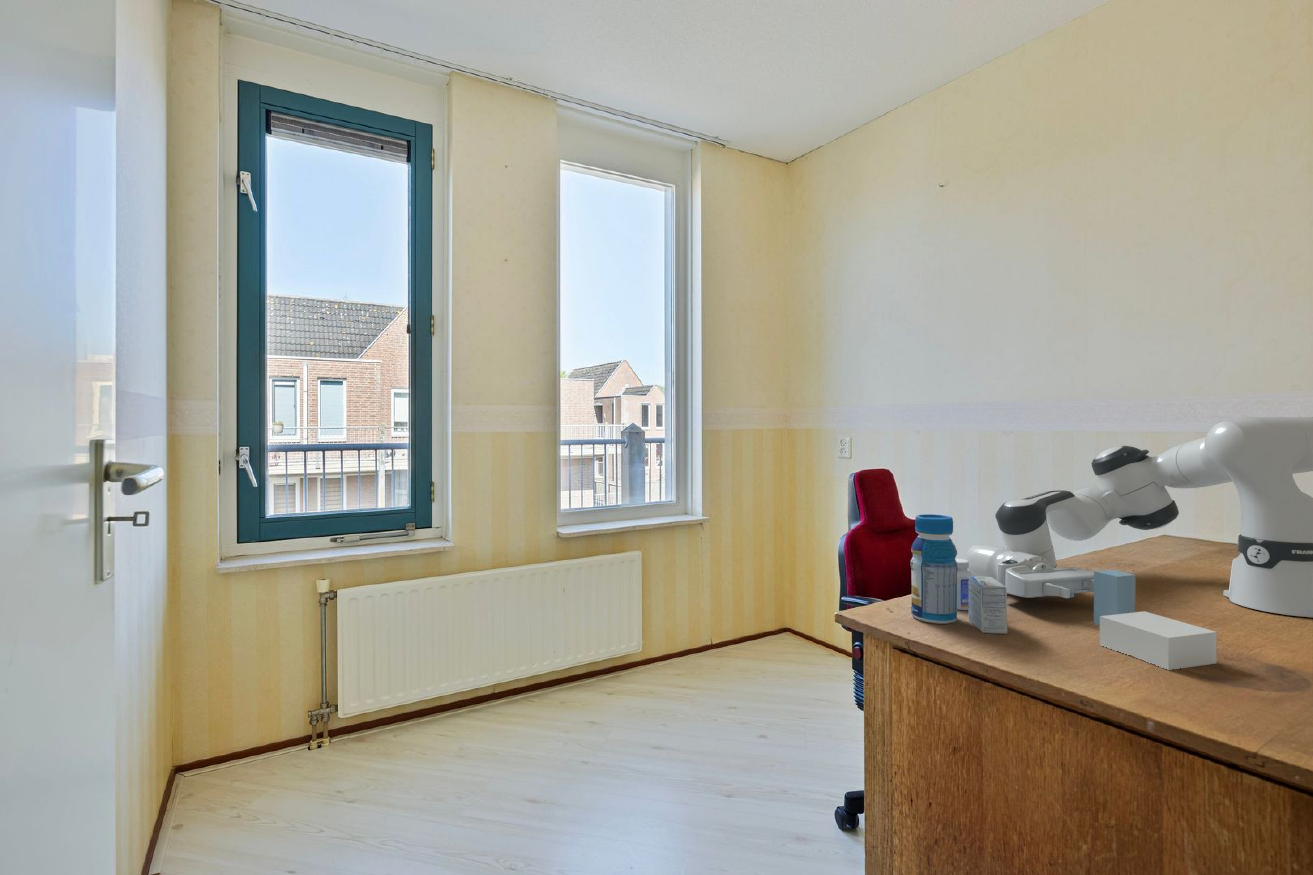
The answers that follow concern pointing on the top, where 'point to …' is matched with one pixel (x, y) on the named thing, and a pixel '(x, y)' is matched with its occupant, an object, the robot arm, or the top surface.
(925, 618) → the beverage bottle
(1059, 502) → the robot arm
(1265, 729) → the top surface
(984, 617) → the medicine box
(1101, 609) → the block
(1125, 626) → the block
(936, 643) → the top surface
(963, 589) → the pill bottle
